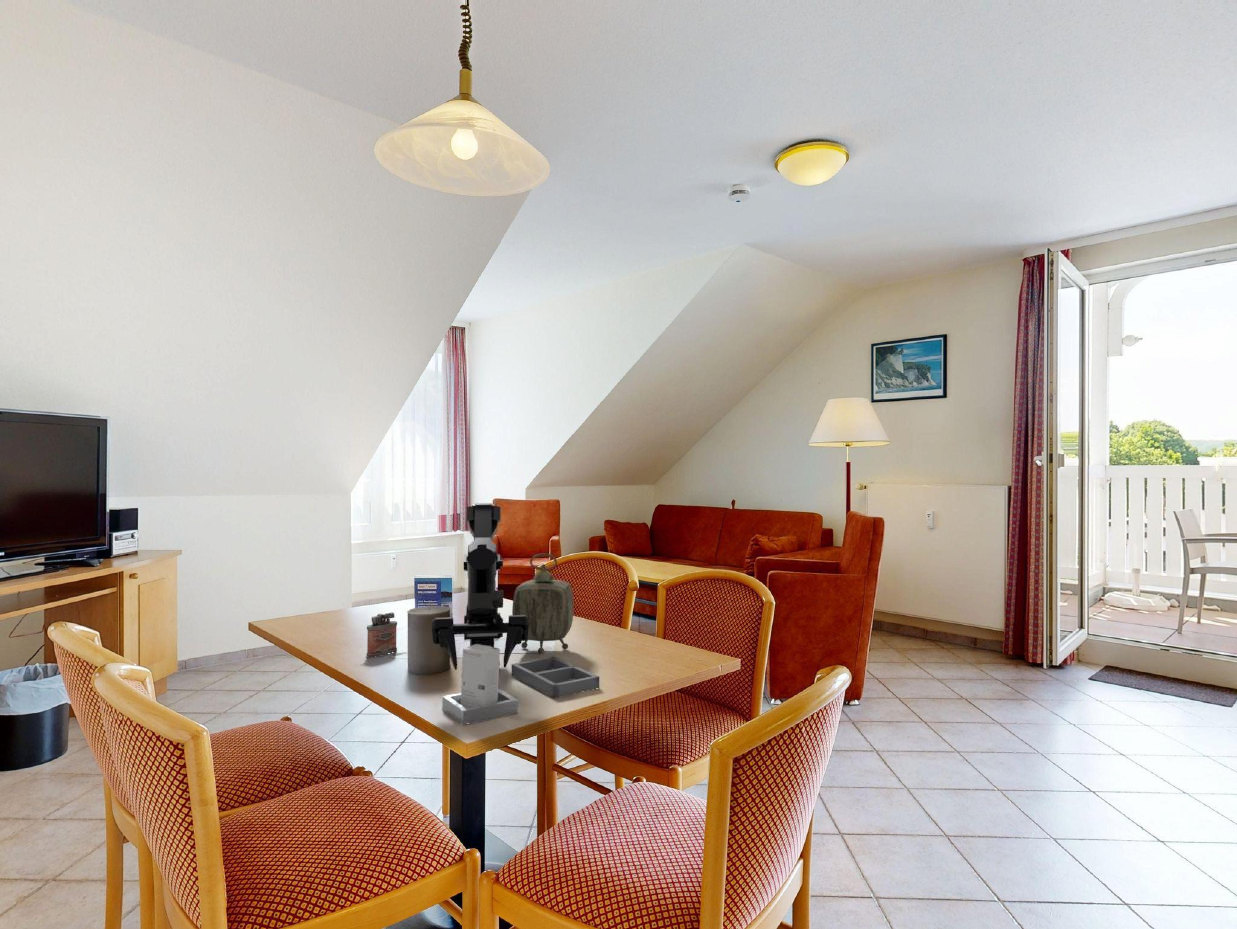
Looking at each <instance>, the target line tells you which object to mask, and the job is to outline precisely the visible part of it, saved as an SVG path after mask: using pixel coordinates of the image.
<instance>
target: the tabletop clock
mask: <svg viewBox="0 0 1237 929" xmlns="http://www.w3.org/2000/svg"><path fill="white" fill-rule="evenodd" d="M538 557H548V558H551V559H552V560H553V561H554V565H551V566H548V567H547V566H546V564H543V563H542V564H541V565H540V566H541V567H540V566H536V565H534V564H533V560H534V559H535V558H538ZM529 560H530V561H529V564H530V566H531V567H532V568H533V569H535V570H538V572H537V573H535V574H534V576H533V578H532V579H530V580H527V581H524V582H522V583H521V584H520V585H518V586H517V587H516V588H515V590H514V593H513V598H512V610H511V612H512V615H526V616H527V617H528V620H529V628H528V639H527V640H526V641H522V642H521V644H520V646H521V648H522V649H527V647H528V646H529V645H528V641H536V642H539V648H537V653H538V654H539V655H543V654H544V653H545V649H544V648H543V645H544V644H543V643H544V642H552V641H553V642H556V641H559V642H560V643H561V644H562V645H561V648H562V650H567V649H568V648H569V644H568V643H565V642H564V641H565V640H564V638H566V636H567V635H568V633H569V632H570V630H571V628H572V625H573V621H574V620H573V619H574V608H575V607H574V606H575V605H574V604H575V603H574V595H573V594H574V593H573V589H572V586H571V583H569V582H567V581H565V580H561V579H560V580H558V579H554V576H553V574H552V573H551V572H550V570H552V569H553V570H554V568H555V567H557V565H558V561H557V559H556V557H555V556H554V555H552V554H550V553H537V554H534V555H532V557H531V558H530V559H529Z"/></svg>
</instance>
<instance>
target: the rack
mask: <svg viewBox="0 0 1237 929" xmlns="http://www.w3.org/2000/svg"><path fill="white" fill-rule="evenodd" d="M511 676H512V677H514V678H516V679H518V680H519V679H520V681H521V682H524V683H525V684H527V685H529V686H531V687H532V688H535V689H536V688H537V690H538V691H540V692H541V693H544V694H545V695H547V696H550V697H551V698H553V699H556V698H557V699H558V698H562V697H566V695H567V696H571V695H575V694H574V693H576V694H581V693H583V692H582V691H586V692H588V691H587V690H590V691H593V690H592V689H595V690H597V689H596V688H599V689H600V676H599V675H597V674H594V673H592V672H591V671H587V670H585V669H583V668H581V667H578V666H576V665H573V664H571V663H570V662H567V661H565V660H563V659H560V658H558V657H556V656H550V657H545V658H539V659H534V660H532V659H531V660H528V661H522V662H517V663H516V662H515V663H512V664H511ZM574 679H575V680H574ZM580 692H581V693H580ZM561 696H562V697H561Z"/></svg>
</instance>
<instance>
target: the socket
mask: <svg viewBox="0 0 1237 929" xmlns="http://www.w3.org/2000/svg"><path fill="white" fill-rule="evenodd" d="M441 704H442V709H441V710H442V711H444V712H445V713H446V714H448V715H449V716H451V717H452V718H453V719H454V720H456V721H457V722H458V723H459V722H460V724H461V723H462V724H461V725H462V726H465V725H464V724H467V723H471V724H475V722H476V723H479V722H485V721H490V720H494V719H498V718H502V716H503V717H506V716H511V715H510V714H512V715H515V714H514V713H516V714H518V713H519V700H518V699H517V698H516V697H514V696H512V695H510V694H509V693H508V692H506V691H504V690H502V689H501V688H499V687H498V702H496V703H491V704H487V705H482V706H477V707H472V708H467V709H466V708H465V707H463V706H462V705H461V692H458V693H454V694H447V695H444V696H442V703H441ZM497 717H498V718H497ZM484 720H485V721H484ZM467 725H468V724H467Z"/></svg>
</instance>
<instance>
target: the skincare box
mask: <svg viewBox="0 0 1237 929" xmlns="http://www.w3.org/2000/svg"><path fill="white" fill-rule="evenodd" d="M500 652H501V649H500V648H499V647H495V646H494V647H491V646H486V645H480V644H475V645H472V646H470V645H469V646H467V647H464V648H463V649H462V662H461V666H462V667H461V685H460V687H461V689H460V691H461V692H460V693H461V705H462V706H463V707H465V708H466V709H467V708H472V707H477V706H482V705H487V704H491V703H496V702H498V688H499V679H500V678H499V677H500V676H499V675H500V664H499V661H500V656H501V654H500Z"/></svg>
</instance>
